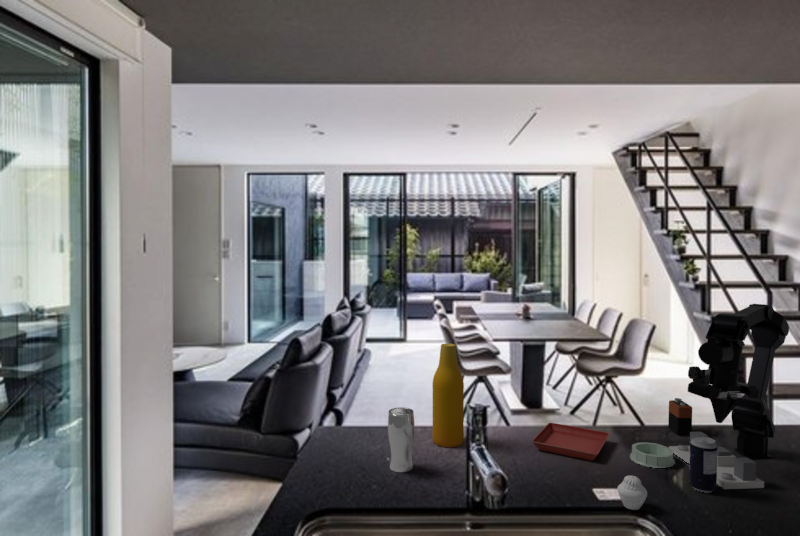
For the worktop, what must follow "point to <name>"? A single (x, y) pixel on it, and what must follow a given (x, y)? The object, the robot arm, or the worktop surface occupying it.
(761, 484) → the switch panel
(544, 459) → the worktop surface
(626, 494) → the lidded jar
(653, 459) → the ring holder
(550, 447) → the plant saucer
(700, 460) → the beverage can
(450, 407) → the beer bottle
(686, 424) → the battery
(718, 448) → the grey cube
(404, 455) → the beer glass
